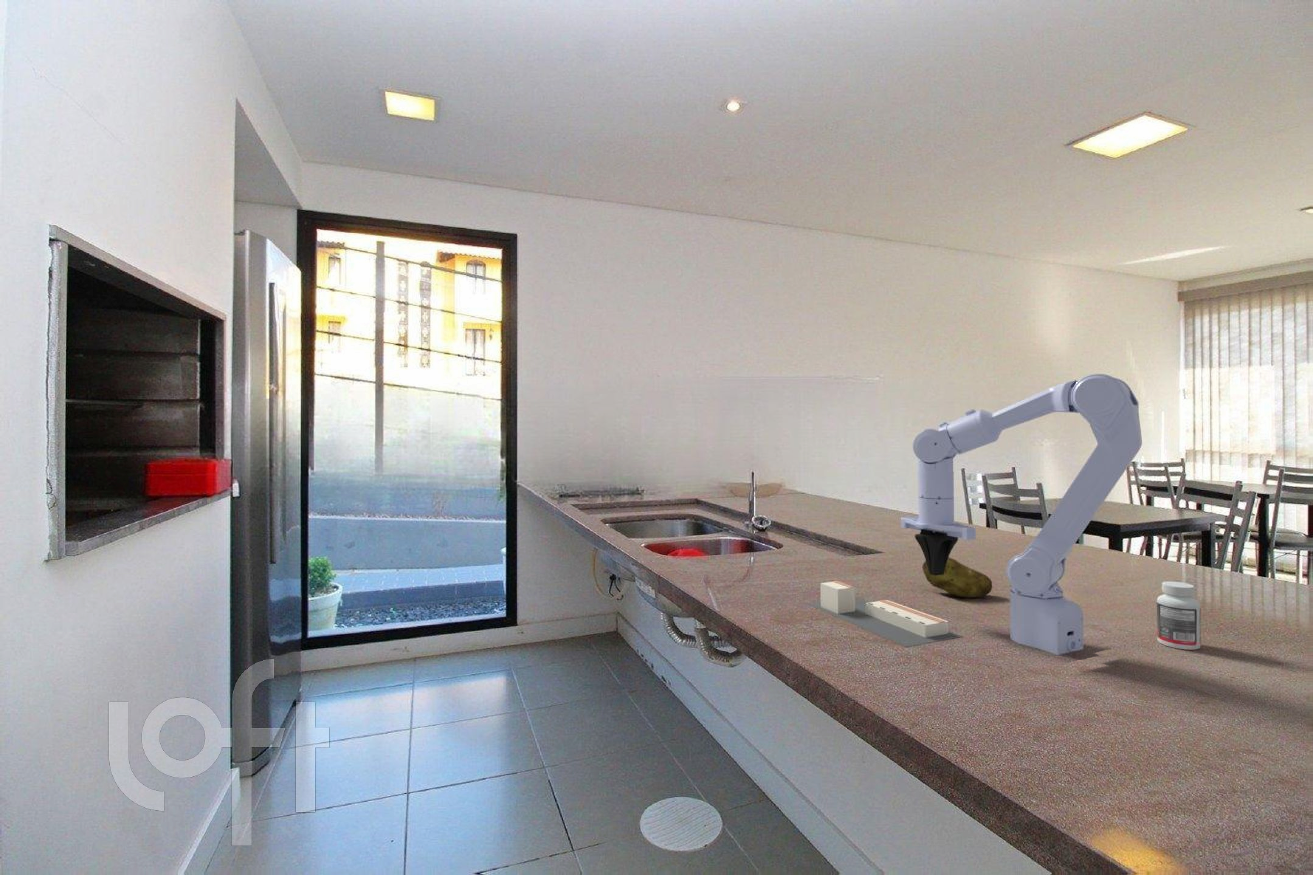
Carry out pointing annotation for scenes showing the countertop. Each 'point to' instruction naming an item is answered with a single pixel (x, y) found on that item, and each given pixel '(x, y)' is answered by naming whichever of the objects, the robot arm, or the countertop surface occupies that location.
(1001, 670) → the countertop surface
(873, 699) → the countertop surface
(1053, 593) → the robot arm
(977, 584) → the potato
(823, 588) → the stub
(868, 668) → the countertop surface
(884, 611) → the cream striped bar
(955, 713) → the countertop surface
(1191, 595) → the pill bottle
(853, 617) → the mat
